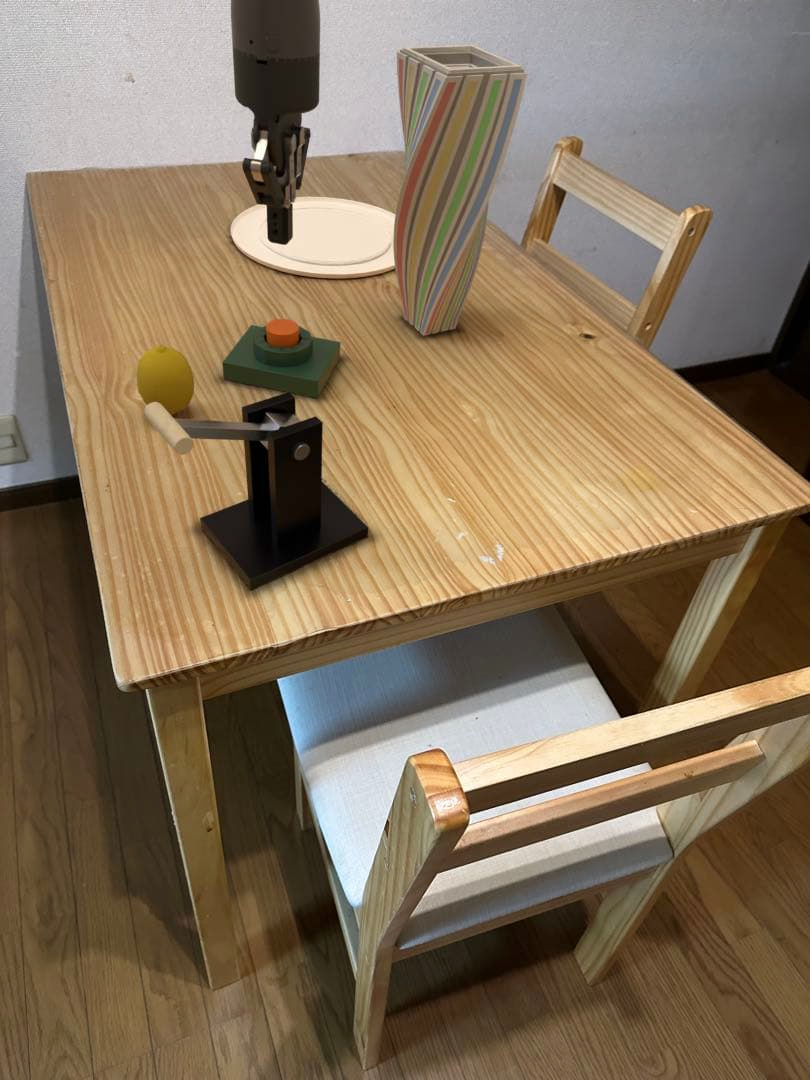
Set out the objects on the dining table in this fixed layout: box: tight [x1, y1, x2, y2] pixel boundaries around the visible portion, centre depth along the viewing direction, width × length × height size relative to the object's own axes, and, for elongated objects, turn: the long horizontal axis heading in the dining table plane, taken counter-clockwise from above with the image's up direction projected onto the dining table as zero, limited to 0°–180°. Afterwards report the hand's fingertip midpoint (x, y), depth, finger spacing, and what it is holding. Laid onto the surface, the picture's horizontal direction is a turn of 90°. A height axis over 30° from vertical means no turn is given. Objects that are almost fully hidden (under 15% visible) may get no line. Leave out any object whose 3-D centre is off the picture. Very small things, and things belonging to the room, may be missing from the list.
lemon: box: [136, 344, 195, 416], centre depth 77 cm, size 6×6×8 cm
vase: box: [393, 44, 528, 336], centre depth 89 cm, size 14×14×30 cm
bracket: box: [199, 392, 369, 590], centre depth 65 cm, size 12×9×13 cm
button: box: [265, 318, 300, 347], centre depth 85 cm, size 4×4×2 cm
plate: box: [229, 196, 396, 279], centre depth 115 cm, size 28×28×1 cm
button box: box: [221, 324, 341, 399], centre depth 87 cm, size 11×9×4 cm
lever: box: [143, 402, 302, 456], centre depth 58 cm, size 12×5×2 cm, turn 128°
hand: (280, 241), depth 78 cm, fingers closed
